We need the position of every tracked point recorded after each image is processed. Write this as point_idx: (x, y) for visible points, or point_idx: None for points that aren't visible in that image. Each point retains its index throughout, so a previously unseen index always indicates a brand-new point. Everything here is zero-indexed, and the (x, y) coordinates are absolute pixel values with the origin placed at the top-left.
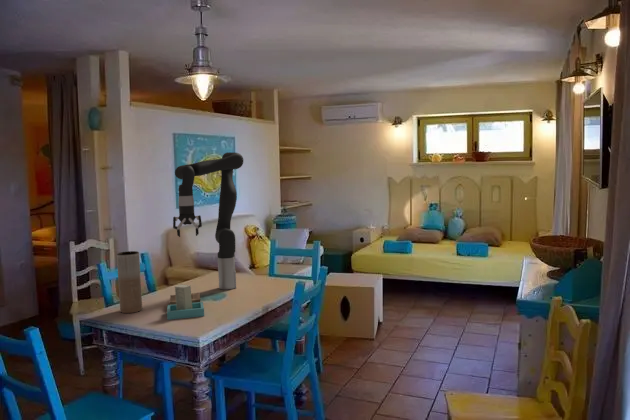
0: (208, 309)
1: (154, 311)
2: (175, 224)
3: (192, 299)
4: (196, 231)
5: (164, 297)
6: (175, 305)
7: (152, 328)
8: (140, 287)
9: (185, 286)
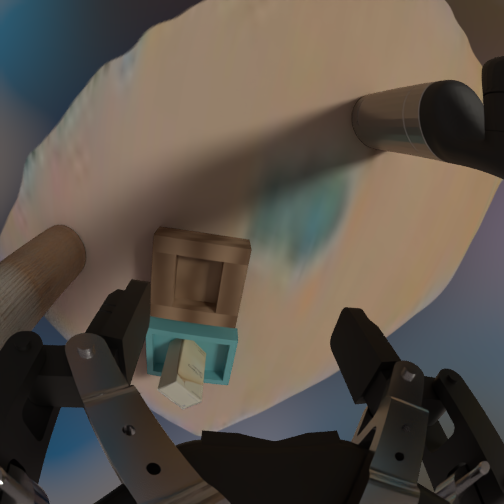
0: (248, 335)
1: (116, 289)
2: (47, 442)
3: (214, 318)
4: (351, 378)
5: (149, 134)
6: (165, 335)
7: None
8: (56, 293)
9: (186, 403)
